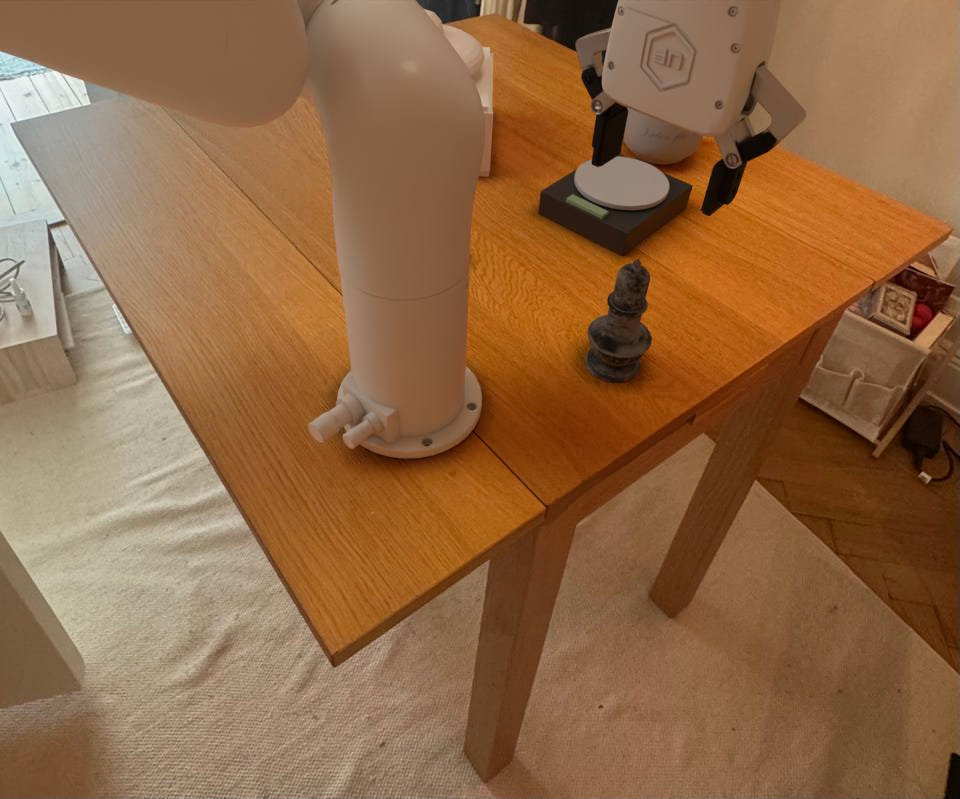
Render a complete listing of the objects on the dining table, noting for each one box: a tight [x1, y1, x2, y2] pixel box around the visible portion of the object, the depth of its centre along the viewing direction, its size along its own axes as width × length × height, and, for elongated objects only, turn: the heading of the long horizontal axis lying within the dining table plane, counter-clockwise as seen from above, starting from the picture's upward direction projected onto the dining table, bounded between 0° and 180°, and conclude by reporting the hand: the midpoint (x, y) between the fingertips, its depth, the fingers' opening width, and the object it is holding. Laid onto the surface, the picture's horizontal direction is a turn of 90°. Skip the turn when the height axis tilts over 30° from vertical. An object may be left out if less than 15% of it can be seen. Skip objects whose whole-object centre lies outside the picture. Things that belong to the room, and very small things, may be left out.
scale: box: [537, 153, 694, 257], centre depth 86 cm, size 14×12×4 cm
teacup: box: [623, 108, 704, 165], centre depth 95 cm, size 14×11×8 cm
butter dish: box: [423, 8, 495, 178], centre depth 92 cm, size 18×18×16 cm
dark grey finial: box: [584, 258, 653, 384], centre depth 65 cm, size 6×6×12 cm
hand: (658, 183), depth 56 cm, fingers open, 9 cm apart
